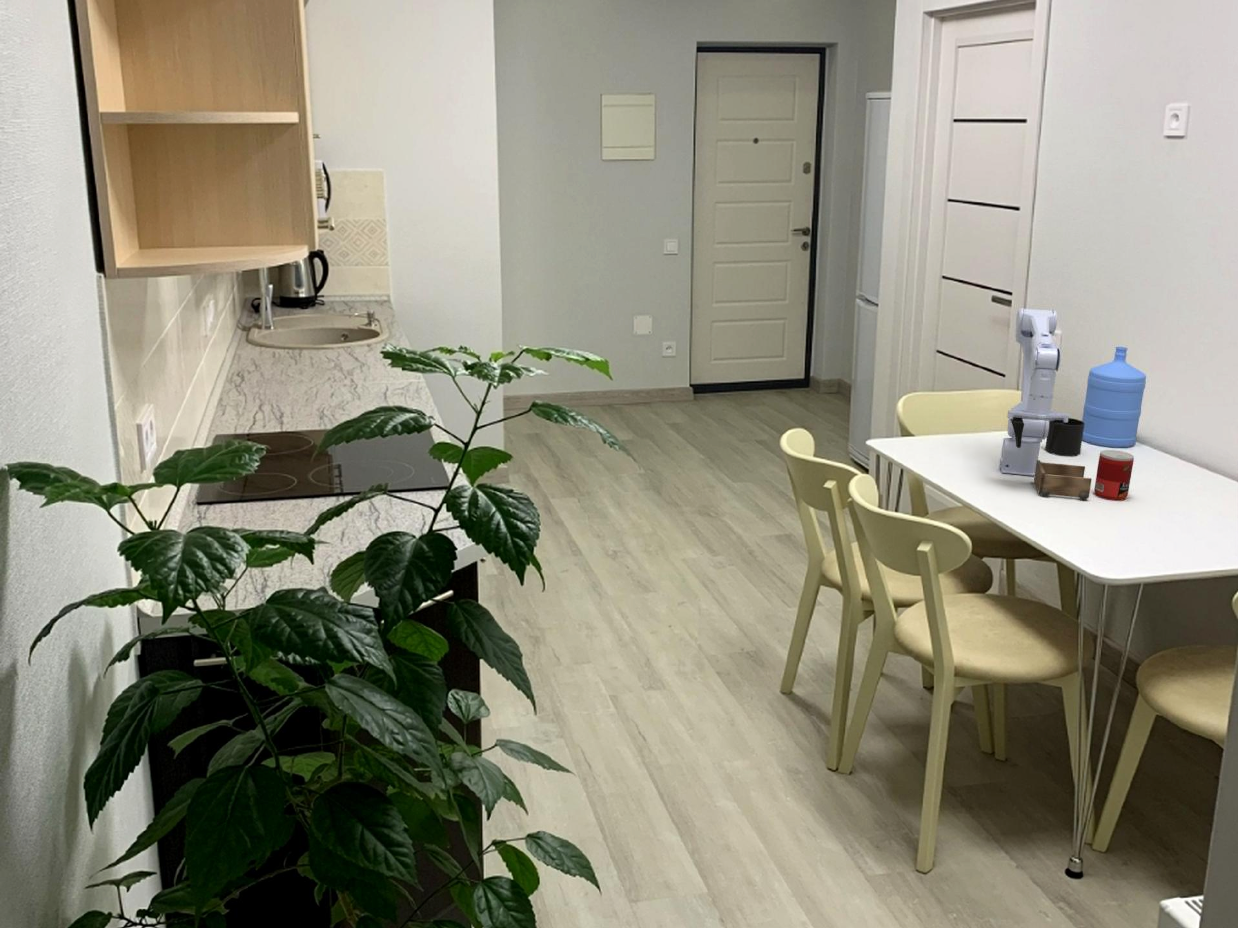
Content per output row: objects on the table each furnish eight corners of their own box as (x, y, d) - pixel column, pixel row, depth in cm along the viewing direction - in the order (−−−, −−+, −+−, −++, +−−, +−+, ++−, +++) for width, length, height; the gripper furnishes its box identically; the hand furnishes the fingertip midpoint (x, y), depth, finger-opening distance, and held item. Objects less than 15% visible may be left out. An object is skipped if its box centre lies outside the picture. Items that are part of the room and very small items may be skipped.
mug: (1068, 445, 346) (1072, 415, 344) (1085, 457, 335) (1090, 425, 332) (1036, 444, 346) (1040, 414, 343) (1052, 456, 334) (1057, 425, 332)
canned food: (1124, 502, 295) (1131, 460, 292) (1090, 496, 299) (1097, 454, 296) (1129, 495, 302) (1136, 453, 298) (1096, 489, 306) (1103, 447, 302)
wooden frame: (1039, 496, 298) (1042, 473, 296) (1033, 481, 310) (1036, 459, 309) (1088, 501, 295) (1092, 478, 294) (1081, 485, 308) (1084, 463, 306)
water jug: (1144, 449, 345) (1160, 354, 337) (1090, 447, 345) (1104, 352, 337) (1123, 435, 360) (1137, 343, 352) (1071, 433, 360) (1084, 341, 352)
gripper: (1014, 396, 295) (1007, 449, 299) (1074, 400, 294) (1067, 453, 298) (1008, 391, 302) (1001, 443, 306) (1067, 394, 301) (1059, 446, 304)
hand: (1033, 448), depth 302 cm, fingers open, 7 cm apart
